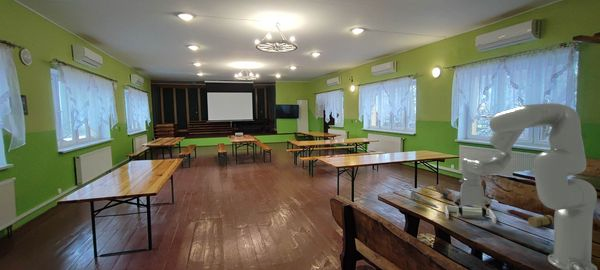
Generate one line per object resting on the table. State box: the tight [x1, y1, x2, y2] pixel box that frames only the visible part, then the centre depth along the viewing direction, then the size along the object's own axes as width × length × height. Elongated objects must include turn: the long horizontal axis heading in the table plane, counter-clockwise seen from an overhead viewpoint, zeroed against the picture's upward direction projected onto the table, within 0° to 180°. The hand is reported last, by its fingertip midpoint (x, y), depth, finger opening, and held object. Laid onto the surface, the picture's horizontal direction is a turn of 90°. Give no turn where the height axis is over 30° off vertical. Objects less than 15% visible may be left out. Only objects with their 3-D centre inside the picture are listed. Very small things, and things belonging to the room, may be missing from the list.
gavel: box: [506, 209, 554, 228], centre depth 139 cm, size 21×5×10 cm
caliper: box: [410, 190, 439, 209], centre depth 169 cm, size 20×1×6 cm, turn 23°
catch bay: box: [444, 204, 497, 224], centre depth 145 cm, size 13×22×3 cm, turn 66°
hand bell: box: [475, 179, 493, 210], centre depth 156 cm, size 8×8×16 cm
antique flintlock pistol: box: [434, 182, 461, 203], centre depth 168 cm, size 6×30×10 cm, turn 18°
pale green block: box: [456, 206, 486, 220], centre depth 145 cm, size 5×12×4 cm, turn 66°
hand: (472, 215), depth 137 cm, fingers open, 9 cm apart
